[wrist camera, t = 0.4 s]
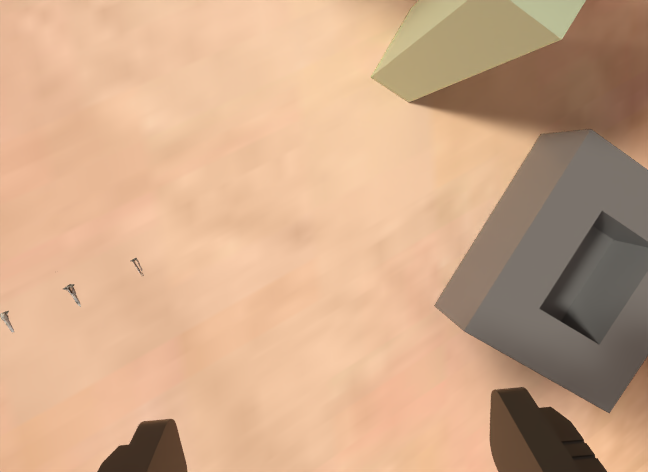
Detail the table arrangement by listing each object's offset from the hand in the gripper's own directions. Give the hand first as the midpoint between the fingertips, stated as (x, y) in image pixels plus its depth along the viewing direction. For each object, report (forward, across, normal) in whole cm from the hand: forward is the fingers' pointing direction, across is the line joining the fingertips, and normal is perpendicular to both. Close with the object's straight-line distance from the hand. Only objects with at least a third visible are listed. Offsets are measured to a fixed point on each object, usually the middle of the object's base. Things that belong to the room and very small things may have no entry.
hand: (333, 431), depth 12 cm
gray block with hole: (+21, -16, +6) cm, 27 cm away
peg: (+23, -7, -9) cm, 25 cm away
